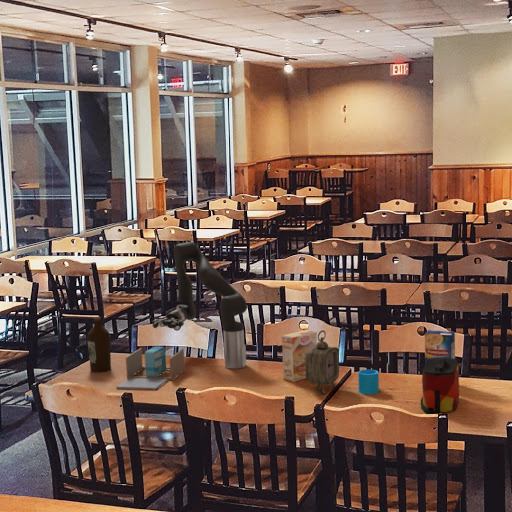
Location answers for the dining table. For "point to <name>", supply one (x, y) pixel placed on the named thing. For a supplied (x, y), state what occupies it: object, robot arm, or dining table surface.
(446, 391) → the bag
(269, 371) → the dining table surface
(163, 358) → the data package
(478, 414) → the dining table surface
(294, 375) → the coffeecake box
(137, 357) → the bookend rack
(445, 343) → the beverage box
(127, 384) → the board
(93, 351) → the olive oil
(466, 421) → the dining table surface
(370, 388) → the mug
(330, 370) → the tabletop clock
